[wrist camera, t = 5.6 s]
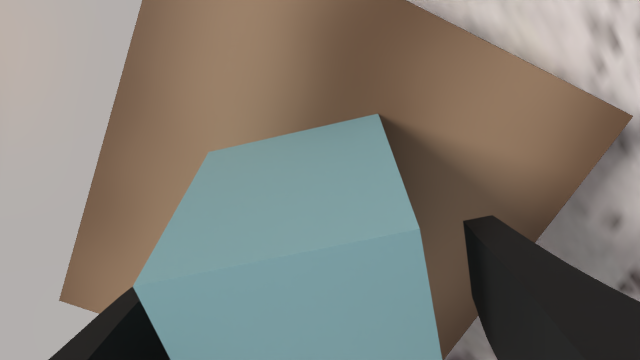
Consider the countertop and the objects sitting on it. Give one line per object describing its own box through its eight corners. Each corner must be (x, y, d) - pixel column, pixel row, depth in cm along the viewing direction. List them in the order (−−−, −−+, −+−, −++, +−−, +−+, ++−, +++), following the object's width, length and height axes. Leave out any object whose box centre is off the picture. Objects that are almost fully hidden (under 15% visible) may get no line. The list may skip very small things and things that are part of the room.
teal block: (377, 113, 12) (419, 228, 7) (405, 257, 14) (454, 429, 9) (208, 152, 12) (132, 285, 7) (258, 286, 14) (224, 465, 9)
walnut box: (567, 82, 15) (632, 116, 12) (389, 339, 20) (402, 413, 17) (210, -100, 13) (174, -118, 10) (106, 238, 18) (59, 300, 14)
